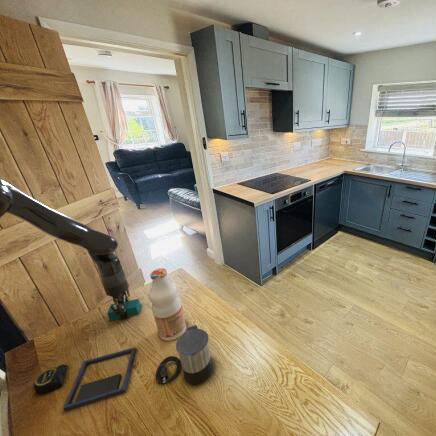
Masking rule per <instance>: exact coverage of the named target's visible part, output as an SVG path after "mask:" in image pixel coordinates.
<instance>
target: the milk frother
mask: <svg viewBox="0 0 436 436" xmlns="http://www.w3.org/2000/svg"><path fill="white" fill-rule="evenodd" d="M175 343H176V344H175V351H176V352H177V353H178V356H179V357H178V356H175V355H170V356H167V357H165V358H164V359H163V360H161V362H160V363H159V365H158V367H157V368H156V370H155V380H156V382H157V383H158V384H160V385H165V384H169V383H172V382H173V381H174V380H176V378H177V377H178V376H179V374H180V371H181V368H182V371H183V378H184V381H185V382H186V383H187V384H188V385H190V386H197V385H200V384H203V383H205V382H206V381H207V380H208V379H209V378H210V377H211V376H212V374H213V370H214V364H213V360H212V354H211V350H210V344H209V334H208V333H207V331H206V330H204V329H201V328H198V325H197V324H195V325H194V324H193V325H191V326H189V327H187V328H186V331H185V332H184V333H183V334H182V335H181V336H180V337H178V338H177V340H176V342H175ZM169 362H172V363H175V364H176V369H175V372H174V374H173V375H171V377H169V376H168V373H167V368H166V365H167V364H168V363H169ZM168 377H169V378H168ZM167 378H168V379H167Z"/></svg>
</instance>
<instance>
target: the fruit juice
mask: <svg viewBox="0 0 436 436" xmlns="http://www.w3.org/2000/svg"><path fill="white" fill-rule="evenodd" d="M150 279H151V280H152V281H151V286H150V287H151V288H150V290H149V292H148V299H149V301H150V303H151V312H152V315H153V317H154V321H155V324H156V328H157V331H158V335H159V337H160V339H161V340H163V341H166V342H169V341H174V340H176V339H177V340H178V339H179V338H180V337H181V336H182V334H184V333H185V332H186V331H187V322H186V318H185V313H184V308H183V303H182V300H181V297H180V295H179V288H178V285H177V283H175V282H173V281H171V280H170V278H169V277H168V271H167V269H166V268H162V267H161V268H156V269H154V270H152V271H151V272H150Z"/></svg>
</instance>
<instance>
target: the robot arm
mask: <svg viewBox="0 0 436 436" xmlns="http://www.w3.org/2000/svg"><path fill="white" fill-rule="evenodd" d="M6 214H9V215H11V216H14V217H16V218H19V219H20V220H23V221H24V222H26V223H28V224H30V225H31V226H33V227H34V228H35V229H37V230H39V231H41V232H43V234H44V233H45V234H46V235H48V236H49V237H50V236H51V237H52V238H55V239H56V240H60V241H63V242H64V243H67V244H71V245H75V246H78V247H81V248H83V249H85V250H86V251H87V253H88V255H89V256H90V258H91V259H92V261H93V262H94V264H95V265H96V268H97V271H98V274H99V278H100V282H101V284H102V288H103V290H104V292H105V294H106V296H108V297H111V298H112V302H113V304H114V305H111V304H110V305H111V309H112V310H113V312H114V313H115V315H116V316H117V315H120V318H119V319H120V320H124V319H127V318H129V316H127V313H126V310H125V305H126V302H125V301H130V296H131V294H130V290H129V289H130V288H129V286H130V285H129V282H128V279H127V276H126V272H125V270H124V268H123V266H122V263H121V260H120V258H119V256H117V255H116V254H115V253H116V251H117V250H118V247H119V243H118V241H117V240H116V238H115V237H113V236H111V235H109V234H106V233H104V232H101V231H99V230H96V229H94V228H92V227H90V226H88V225H86V224H84V223H83V222H80V221H78V220H75V219H73V218H71V217H69V216H67V215H65V214H63V213H61V212H58V211H56V210H55V209H52V208H50V207H48V206H46V205H44V204H43V203H41V202H39V201H37V200H36V199H34V198H32V197H30V196H28V195H27V194H25V193H24V192H22V191H21V190H19V189H17V188H16V187H14V186H13V185H11V184H9V183H8V182H6V181H5V180H4V179H2V178H0V219H1V218H3V217H4V216H5V215H6ZM122 303H123V304H122ZM120 304H121V305H120ZM121 307H122V308H123V309H122V308H121Z"/></svg>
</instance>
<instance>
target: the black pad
mask: <svg viewBox="0 0 436 436" xmlns="http://www.w3.org/2000/svg"><path fill="white" fill-rule="evenodd" d="M121 381H122V374H121V373H118V374H115V375H111V376H107V377H105V378H101V379H98V380H94V381H90V382H87V383H84V384H81V386H80V388H79V390H78V393H77V396H76V398H75V401H74V402H78V401H81V400H84V399H87V398H91V397H94V396H97V395H100V394H103V393H107V392H110V391H113V390H116V389H120V384H121Z"/></svg>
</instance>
